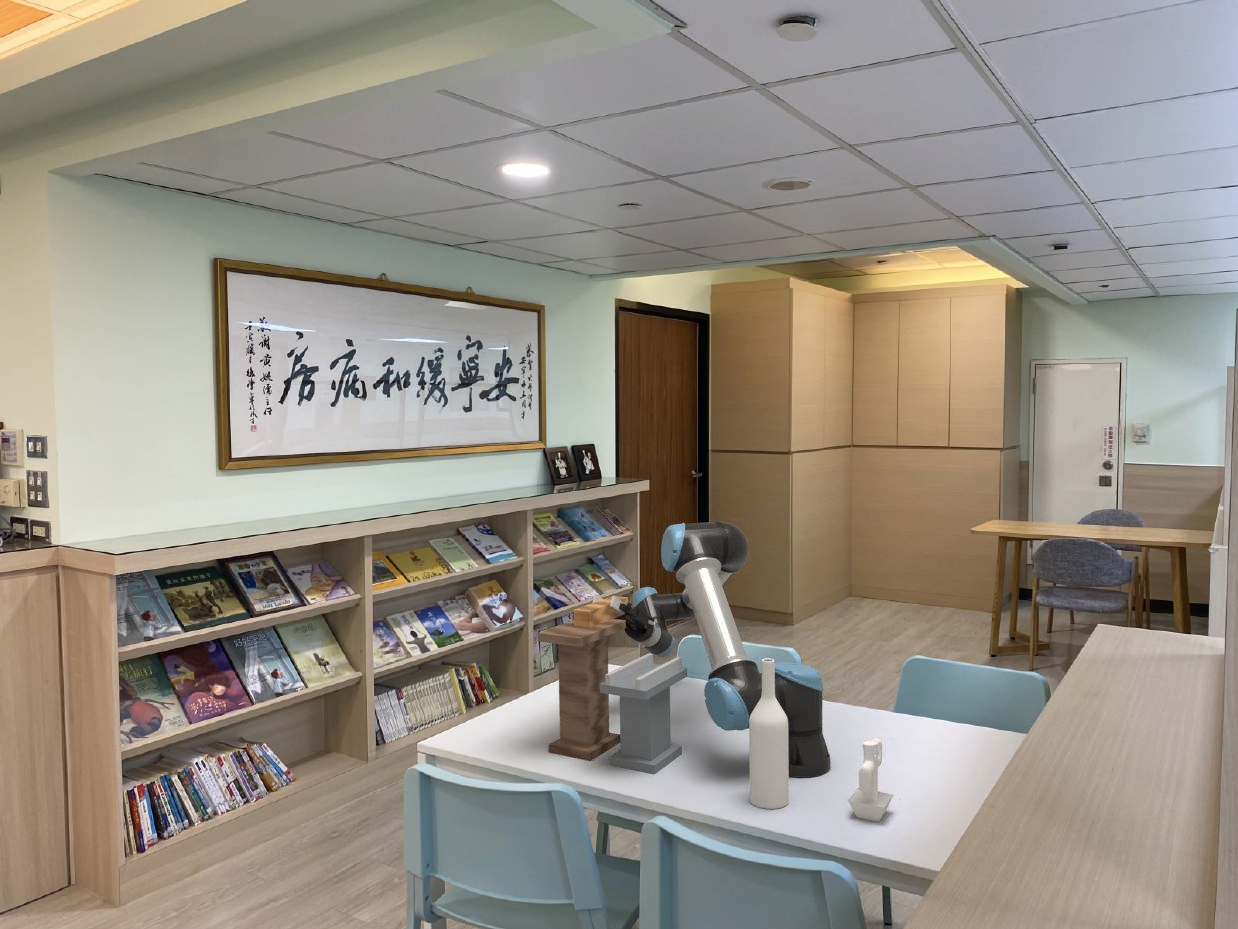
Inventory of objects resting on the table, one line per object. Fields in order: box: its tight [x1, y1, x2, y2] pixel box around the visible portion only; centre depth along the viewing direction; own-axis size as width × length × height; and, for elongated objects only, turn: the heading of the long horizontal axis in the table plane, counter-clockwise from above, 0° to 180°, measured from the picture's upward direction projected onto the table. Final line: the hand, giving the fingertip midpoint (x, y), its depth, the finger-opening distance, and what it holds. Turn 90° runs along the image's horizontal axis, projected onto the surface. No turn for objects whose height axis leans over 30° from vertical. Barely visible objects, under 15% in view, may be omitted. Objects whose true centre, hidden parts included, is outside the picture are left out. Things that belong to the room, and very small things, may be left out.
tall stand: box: [537, 619, 626, 762], centre depth 222 cm, size 21×12×30 cm, turn 150°
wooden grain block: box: [573, 595, 629, 628], centre depth 229 cm, size 19×5×4 cm, turn 150°
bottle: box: [748, 657, 790, 810], centre depth 189 cm, size 8×8×30 cm
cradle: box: [600, 652, 688, 775], centre depth 214 cm, size 21×12×22 cm, turn 150°
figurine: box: [847, 737, 894, 823], centre depth 182 cm, size 7×9×15 cm
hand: (603, 600), depth 230 cm, fingers closed on wooden grain block, 5 cm apart
